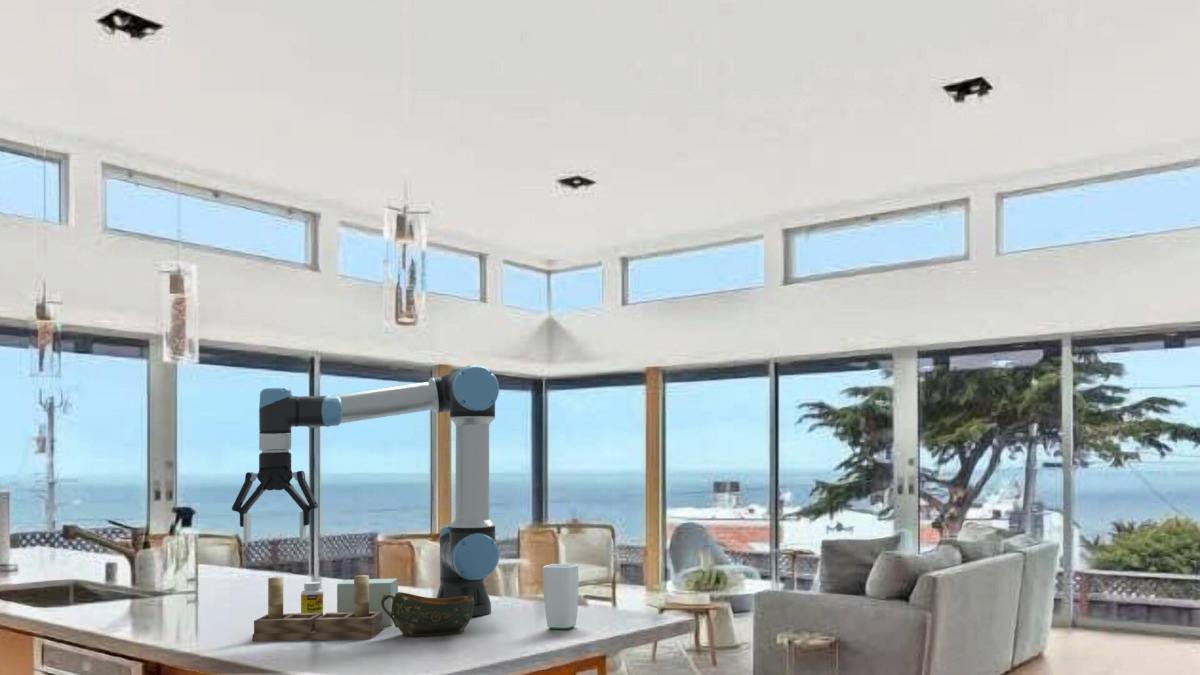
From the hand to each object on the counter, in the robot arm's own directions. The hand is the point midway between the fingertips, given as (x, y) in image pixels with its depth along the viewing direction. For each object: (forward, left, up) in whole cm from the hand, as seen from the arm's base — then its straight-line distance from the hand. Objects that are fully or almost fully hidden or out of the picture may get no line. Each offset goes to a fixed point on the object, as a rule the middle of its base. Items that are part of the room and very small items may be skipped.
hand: (274, 540), depth 261 cm
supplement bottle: (-4, -18, -23) cm, 29 cm away
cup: (-69, -3, -23) cm, 73 cm away
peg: (0, 0, -21) cm, 21 cm away
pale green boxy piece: (-19, -16, -23) cm, 33 cm away
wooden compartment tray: (-11, 0, -23) cm, 25 cm away
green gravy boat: (-37, +1, -23) cm, 44 cm away
